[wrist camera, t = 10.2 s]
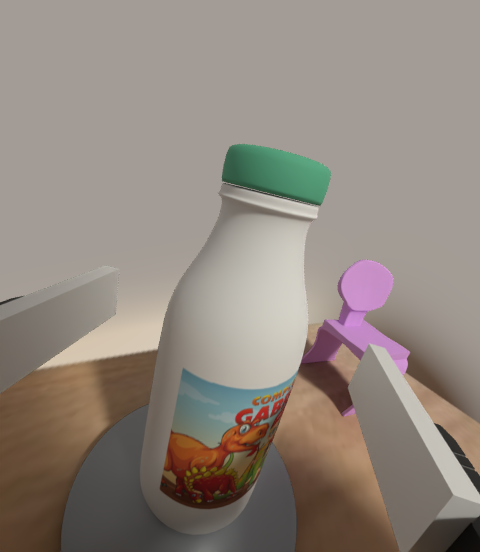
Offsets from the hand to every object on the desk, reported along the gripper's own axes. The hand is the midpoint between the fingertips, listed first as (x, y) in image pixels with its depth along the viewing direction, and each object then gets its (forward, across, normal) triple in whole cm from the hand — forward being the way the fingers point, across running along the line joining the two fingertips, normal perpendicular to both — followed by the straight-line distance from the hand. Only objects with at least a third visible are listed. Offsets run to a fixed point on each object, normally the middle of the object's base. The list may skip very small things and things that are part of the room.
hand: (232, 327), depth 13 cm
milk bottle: (+1, 0, -12) cm, 12 cm away
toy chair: (+16, +13, -13) cm, 24 cm away
